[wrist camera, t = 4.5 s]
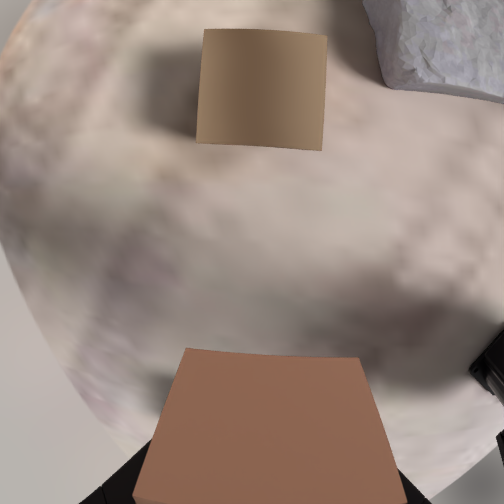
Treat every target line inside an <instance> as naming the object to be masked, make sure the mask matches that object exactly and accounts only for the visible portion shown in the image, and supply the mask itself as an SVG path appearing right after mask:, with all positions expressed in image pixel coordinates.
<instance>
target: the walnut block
mask: <svg viewBox="0 0 504 504" xmlns="http://www.w3.org/2000/svg"><path fill="white" fill-rule="evenodd" d="M326 63H327V36H325V35H318V34H310V33H300V32H290V31H277V30H260V29H204V37H203V47H202V58H201V70H200V83H199V98H198V113H197V131H196V143H203V144H223V145H246V146H264V147H278V148H290V149H302V150H317V151H322V139H323V124H324V107H325V87H326Z"/></svg>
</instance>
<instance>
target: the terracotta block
mask: <svg viewBox="0 0 504 504" xmlns="http://www.w3.org/2000/svg"><path fill="white" fill-rule="evenodd" d="M132 496H133V498H134V500H135V502H136V504H406V503H407V499H406V495H405V492H404V489H403V485H402V482H401V479H400V476H399V472H398V469H397V466H396V463H395V460H394V457H393V454H392V451H391V447H390V444H389V441H388V438H387V435H386V433H385V430H384V427H383V424H382V421H381V418H380V415H379V412H378V409H377V407H376V404H375V401H374V398H373V395H372V393H371V390H370V387H369V384H368V382H367V379H366V376H365V374H364V371H363V368H362V366H361V363H360V360H359V358H358V357H351V358H348V357H297V356H275V355H259V354H244V353H232V352H221V351H210V350H200V349H191V348H186V349H185V352H184V355H183V357H182V360H181V362H180V365H179V368H178V370H177V373H176V376H175V378H174V381H173V384H172V386H171V389H170V392H169V394H168V397H167V400H166V402H165V405H164V408H163V411H162V413H161V416H160V419H159V421H158V424H157V427H156V430H155V432H154V435H153V438H152V441H151V443H150V446H149V449H148V452H147V455H146V457H145V460H144V463H143V466H142V469H141V472H140V474H139V477H138V480H137V483H136V486H135V489H134V492H133V495H132Z"/></svg>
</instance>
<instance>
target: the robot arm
mask: <svg viewBox="0 0 504 504" xmlns="http://www.w3.org/2000/svg"><path fill="white" fill-rule="evenodd" d="M469 372H470V373H471V375H472V376H474V377H475V378H476V379H477V380H478V381H479V382H480V383H481V384H482V385H483V386H484V387H485V388H486V389H487V390H488V391H489V392H490V393H491V394H492V395H496V396H497V398H498V399H499V401H500V402H501V403H502V405H503V406H504V330H503V331H502V332H501V333H500V335H499V336H498V337H497V338H496V339H495V340H494V342H493V343H492V344H491V345H490V346H489V347H488V348H487V349H486V351H485V352H484V353H483V354H482V355H481V356H480V357H479V358H478V359H477V360H476V361H475V362H474V363H473V365H472V366H471V367H470V369H469ZM496 440H497V443H498V446H499V450H500V454H501V458H502V461H503V465H504V429H503V431H502V432H500V433H499V434H498V435H497V436H496ZM151 441H152V439H151V440H150V441H149V442H148V443H147V444H146V445H144V446H143V447H142V448H141V449H140V450H139V451H138V452H137V453H136V454H135V455H134V456H133V457H132V458H131V459H130V460H128V461H127V462H126V463H125V464H124V465H123V466H122V467H121V468H120V469H119V470H118V471H117V472H115V473H114V474H113V475H112V476H111V477H110V478H109V479H108V480H106V481H105V482H104V483H103V484H102V486H99V487H98V488H97V489H96V490H95V491H94V492H93V493H92V494H90V495H89V496H88V497H87V498H86V499H84V500H83V501H82V502H80V503H79V504H136V502H135V500H134V498H133V496H132V495H133V492H134V489H135V486H136V483H137V480H138V477H139V474H140V472H141V469H142V466H143V463H144V460H145V457H146V455H147V452H148V449H149V446H150V443H151ZM397 469H398V468H397ZM398 472H399V476H400V479H401V482H402V485H403V489H404V492H405V495H406V499H407V503H406V504H432V503H431V502H430V501H429V500H428V499H427V498H425V496H424V495H423V494H422V493H421V492H420V491H419V490H418V489H417V488H416V487H415V486H414V485H413V484H412V483H411V482H410V481H409V480H408V479H407V478H406V477H405V476H404V474H403V473H402V472H401V471H400V470H399V469H398Z"/></svg>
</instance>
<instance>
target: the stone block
mask: <svg viewBox="0 0 504 504" xmlns="http://www.w3.org/2000/svg"><path fill="white" fill-rule="evenodd" d="M363 6H364V8H365V11H366V13H367V15H368V18H369V24H370V25H371V27H372V28H373V30H374V32H375V38H376V48H377V56H378V61H379V64H380V68H381V72H382V77H383V80H384V82H385V84H386V85H387V86H388V87H390V88H392V89H395V90H406V91H421V92H430V93H440V94H448V95H454V96H461V97H468V98H474V99H481V100H487V101H492V102H496V103H501V104H504V0H363Z"/></svg>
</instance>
